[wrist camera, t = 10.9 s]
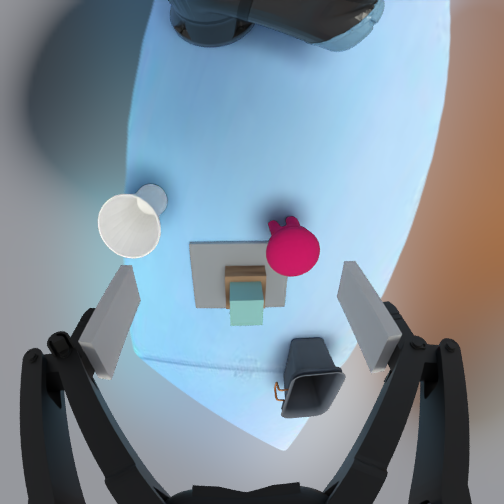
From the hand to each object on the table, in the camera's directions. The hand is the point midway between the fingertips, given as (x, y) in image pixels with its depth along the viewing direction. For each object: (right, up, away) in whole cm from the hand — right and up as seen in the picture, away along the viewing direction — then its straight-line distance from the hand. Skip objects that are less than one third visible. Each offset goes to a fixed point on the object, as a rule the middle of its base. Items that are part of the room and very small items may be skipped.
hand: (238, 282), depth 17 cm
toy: (+6, +8, +38) cm, 39 cm away
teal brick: (-1, -7, +39) cm, 39 cm away
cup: (-18, +12, +34) cm, 40 cm away
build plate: (-2, -3, +43) cm, 43 cm away
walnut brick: (-1, -4, +42) cm, 42 cm away
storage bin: (+14, -28, +57) cm, 65 cm away
